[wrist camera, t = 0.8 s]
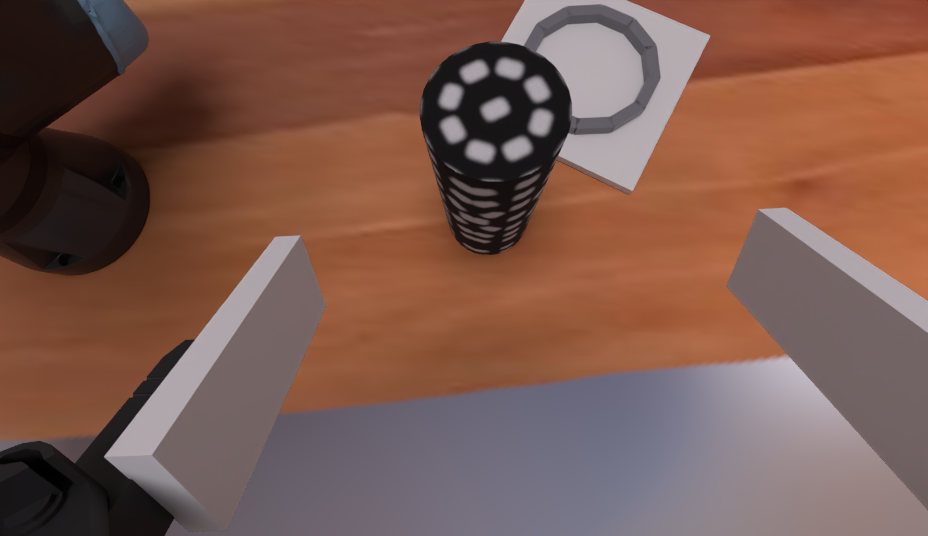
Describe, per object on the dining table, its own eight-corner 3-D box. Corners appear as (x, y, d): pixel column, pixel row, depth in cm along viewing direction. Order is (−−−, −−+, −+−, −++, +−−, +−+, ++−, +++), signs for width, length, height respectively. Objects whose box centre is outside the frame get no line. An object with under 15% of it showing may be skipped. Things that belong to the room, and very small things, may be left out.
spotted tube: (470, 268, 40) (460, 208, 20) (435, 199, 41) (395, 80, 22) (541, 233, 40) (600, 139, 21) (504, 166, 42) (527, 18, 22)
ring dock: (462, 114, 43) (461, 102, 41) (543, -26, 45) (546, -44, 43) (628, 194, 41) (637, 186, 38) (705, 42, 43) (717, 27, 41)
